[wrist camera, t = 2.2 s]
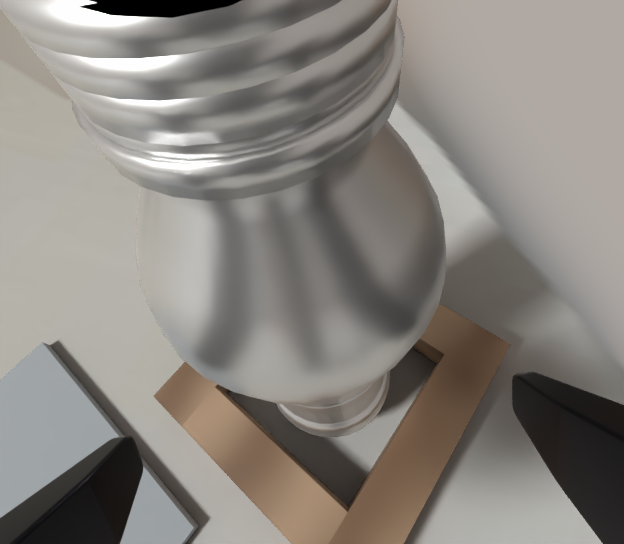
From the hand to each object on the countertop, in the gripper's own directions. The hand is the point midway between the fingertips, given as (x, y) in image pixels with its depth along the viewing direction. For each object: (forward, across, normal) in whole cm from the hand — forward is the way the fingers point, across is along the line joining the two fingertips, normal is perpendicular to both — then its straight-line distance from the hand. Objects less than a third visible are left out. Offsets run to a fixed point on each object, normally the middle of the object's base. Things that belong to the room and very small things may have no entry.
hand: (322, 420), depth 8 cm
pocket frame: (+11, 0, +6) cm, 13 cm away
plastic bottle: (+11, 0, +6) cm, 13 cm away
